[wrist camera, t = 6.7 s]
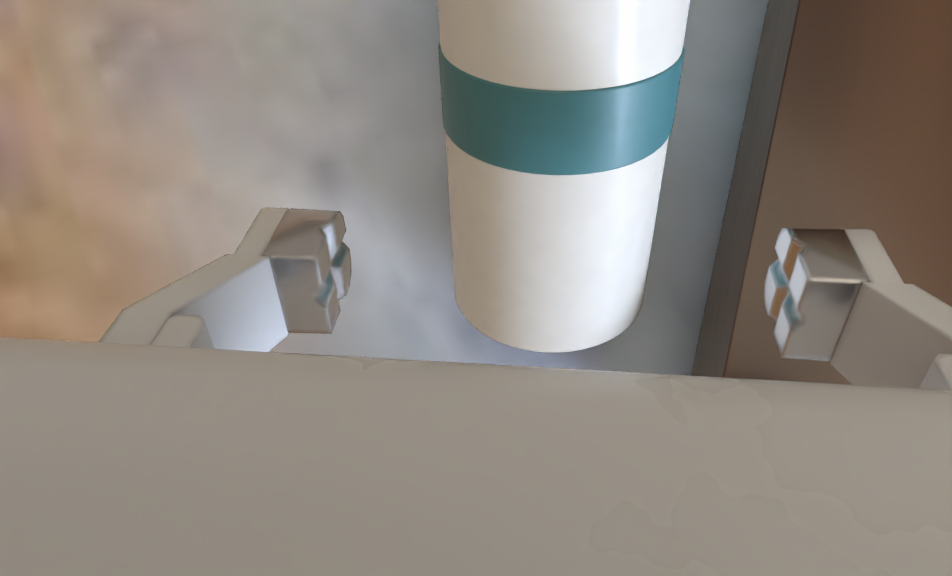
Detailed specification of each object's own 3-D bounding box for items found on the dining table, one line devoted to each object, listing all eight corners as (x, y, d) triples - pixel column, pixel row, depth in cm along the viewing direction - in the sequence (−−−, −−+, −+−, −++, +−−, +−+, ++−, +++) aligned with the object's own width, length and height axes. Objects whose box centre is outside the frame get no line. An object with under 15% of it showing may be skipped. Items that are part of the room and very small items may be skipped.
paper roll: (633, 358, 23) (753, 354, 10) (457, 349, 24) (356, 334, 11) (646, -31, 24) (766, -478, 11) (478, -31, 25) (410, -459, 12)
